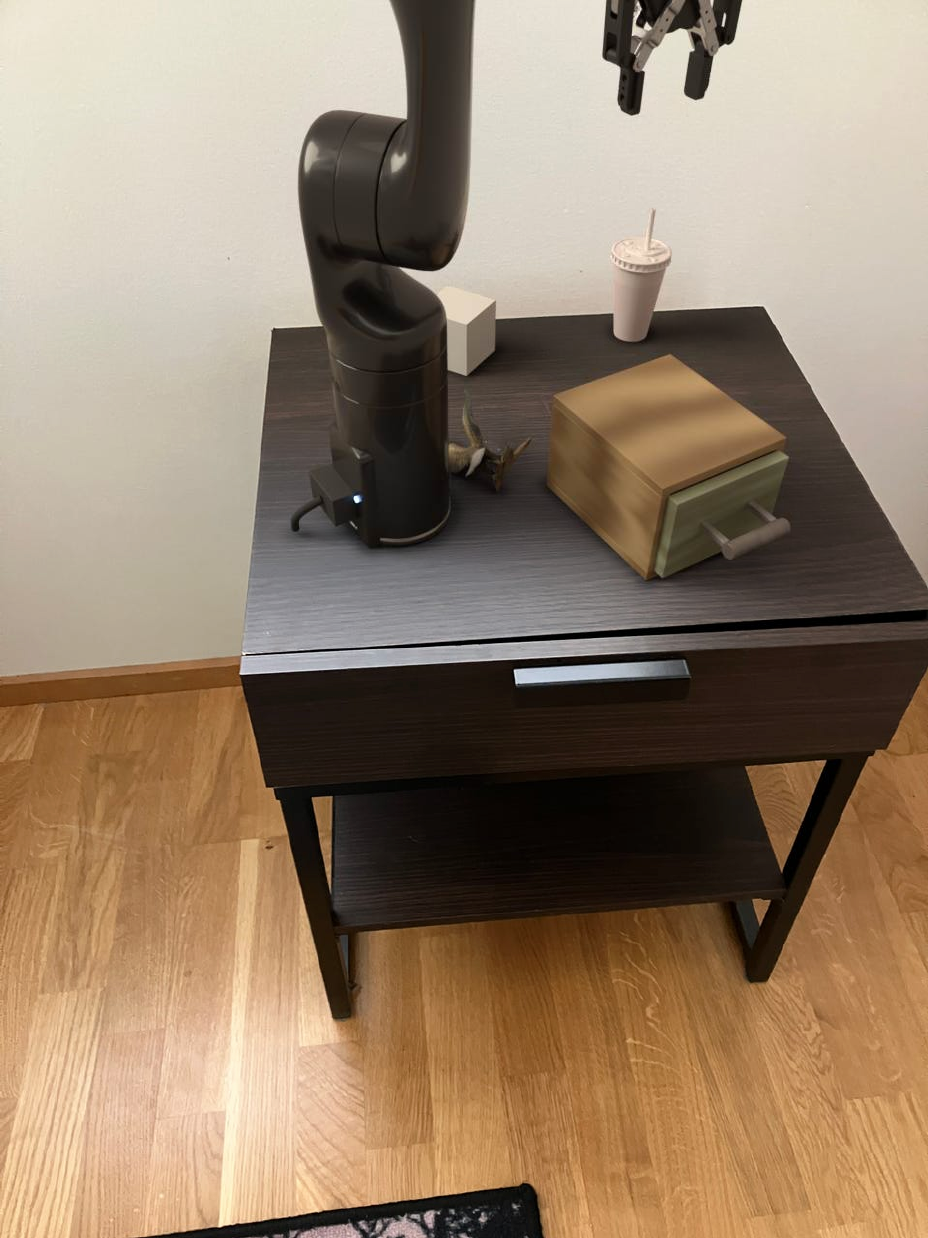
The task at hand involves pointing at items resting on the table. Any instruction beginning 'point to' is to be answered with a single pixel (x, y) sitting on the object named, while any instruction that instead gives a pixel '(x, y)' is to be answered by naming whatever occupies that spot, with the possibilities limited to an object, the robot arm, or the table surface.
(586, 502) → the cabinet
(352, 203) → the robot arm
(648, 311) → the smoothie
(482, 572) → the table surface
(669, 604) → the table surface
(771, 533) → the drawer
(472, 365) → the white cube
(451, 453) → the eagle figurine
